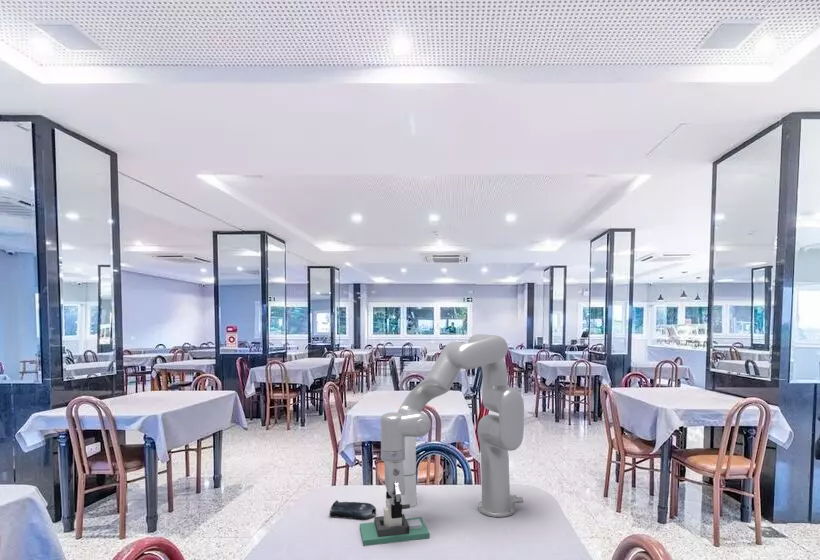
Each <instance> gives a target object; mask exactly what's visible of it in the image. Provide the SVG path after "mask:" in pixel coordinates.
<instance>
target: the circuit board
mask: <svg viewBox="0 0 820 560" xmlns="http://www.w3.org/2000/svg"><path fill="white" fill-rule="evenodd" d="M373 518H374V521H373V522H372V521H371V522H362V523H359V531H360V536H361V541H362V546H363V547H367V546H374V545H382V544H383V545H385V544H394V543H399V542H400V543H401V542H409V541H417V540H427V539H430V538H431V536H430V535H431V533H430V531H429V529H428V526H427V525H426V523H425V522H424V519H423V517H422V516H419V517H418V516H417V517H409V518H406V516H405V514H404V513H402V526H394V527H386V525H384V515H382V516H381V515H380V516H373Z"/></svg>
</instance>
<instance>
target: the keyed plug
mask: <svg viewBox="0 0 820 560" xmlns="http://www.w3.org/2000/svg"><path fill="white" fill-rule="evenodd" d="M394 499H395V498H394ZM391 504H392V498H389V499H386V498H385V507H383V516H384V525H386V527H394V526H402V517H401V518H394V519H392V518H391ZM410 508H411V507H410V504H406V505H402V510H407V509H410Z"/></svg>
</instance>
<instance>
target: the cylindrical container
mask: <svg viewBox="0 0 820 560" xmlns="http://www.w3.org/2000/svg"><path fill="white" fill-rule="evenodd" d="M416 438H417V437H405V460H404V461H403V468H404V485H405V494H404V495H402V494H401V501H402V505H406V504H410V508H413V507H415V506H416V505H417V445H416V444H417V442H416V441H417V439H416ZM400 493H401V492H400Z"/></svg>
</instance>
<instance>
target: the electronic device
mask: <svg viewBox="0 0 820 560" xmlns="http://www.w3.org/2000/svg"><path fill="white" fill-rule="evenodd" d="M376 513H377V508H376V506H375V505H373V504H372V503H368V502H360V501H356V502H355V501H350V502H349V501H342V502H341V501H339V500H337V499H336V500H335V501H334V502H333V503H332V505H331V507H330V508H329V514H328V515H330V517H331V518H335V517H336V518H346V519H347V518H350V519H355V520H361V521H362V520H369V519H371V518H374V517H375V516H376Z"/></svg>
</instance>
